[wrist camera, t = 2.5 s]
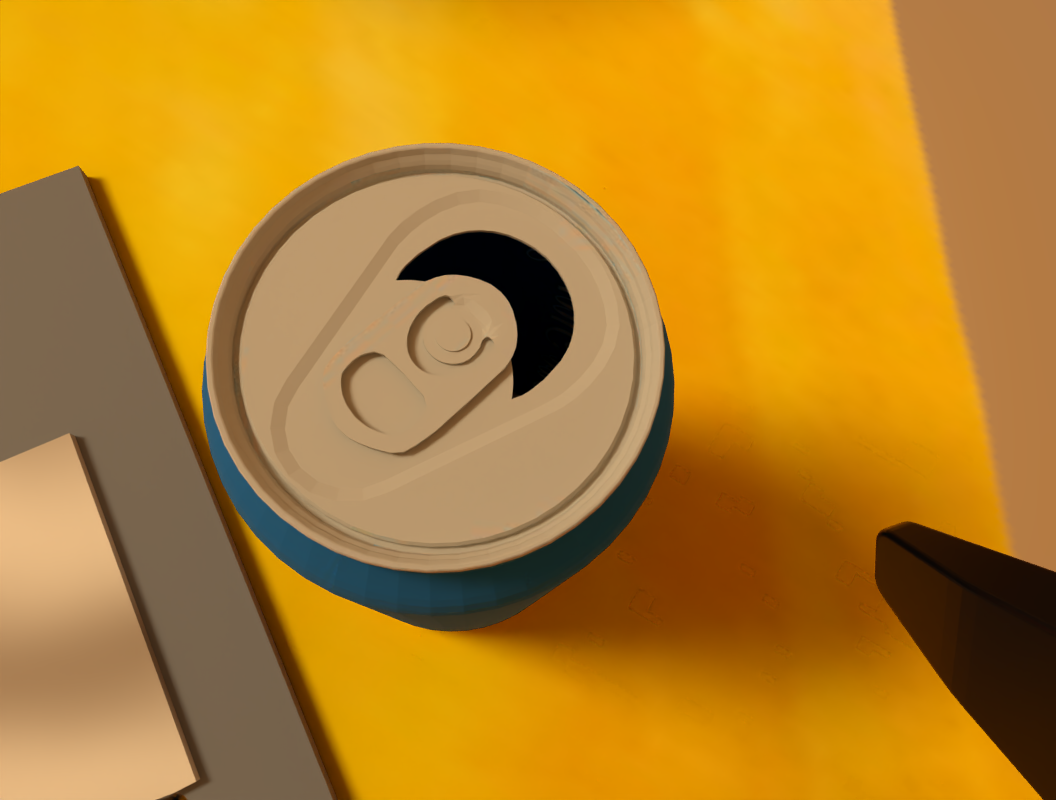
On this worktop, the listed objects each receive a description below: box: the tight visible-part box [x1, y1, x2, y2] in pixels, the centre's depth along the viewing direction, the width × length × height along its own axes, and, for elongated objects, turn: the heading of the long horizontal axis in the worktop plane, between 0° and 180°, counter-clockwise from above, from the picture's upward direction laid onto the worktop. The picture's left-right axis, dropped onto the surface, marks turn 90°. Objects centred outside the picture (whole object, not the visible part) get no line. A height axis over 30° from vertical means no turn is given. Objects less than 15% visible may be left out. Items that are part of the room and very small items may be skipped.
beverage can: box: [202, 143, 674, 631], centre depth 16 cm, size 6×6×12 cm
